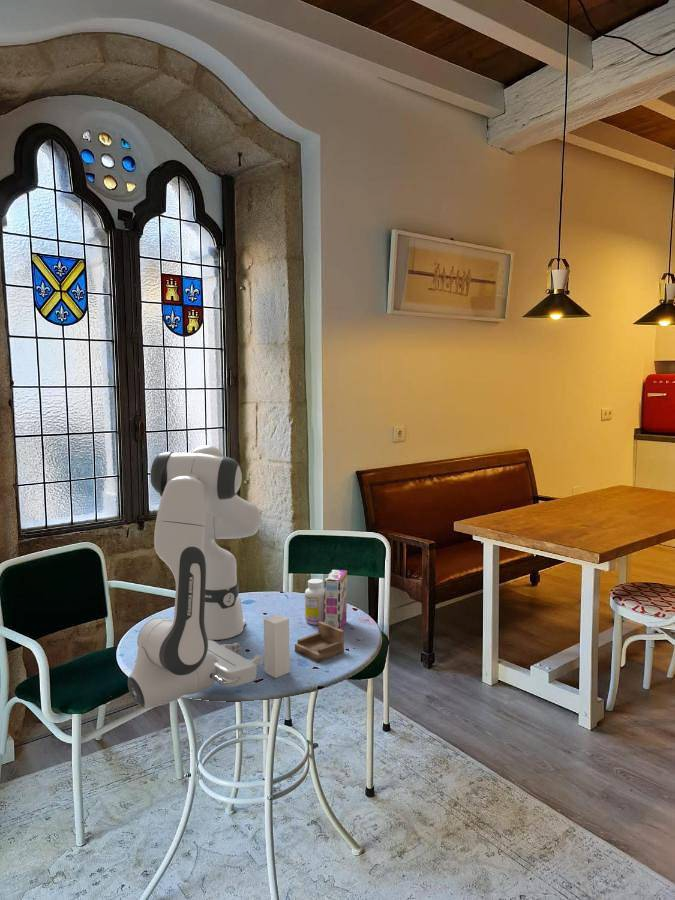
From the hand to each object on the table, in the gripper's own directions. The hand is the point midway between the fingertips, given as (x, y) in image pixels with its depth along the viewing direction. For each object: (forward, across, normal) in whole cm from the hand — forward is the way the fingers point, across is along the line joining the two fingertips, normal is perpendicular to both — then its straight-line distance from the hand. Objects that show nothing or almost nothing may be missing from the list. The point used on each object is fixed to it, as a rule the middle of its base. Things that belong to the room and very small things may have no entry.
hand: (249, 652), depth 155 cm
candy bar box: (+39, +11, +8) cm, 42 cm away
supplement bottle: (+38, +19, +8) cm, 43 cm away
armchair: (+24, +2, +8) cm, 25 cm away
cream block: (+8, 0, +8) cm, 11 cm away
